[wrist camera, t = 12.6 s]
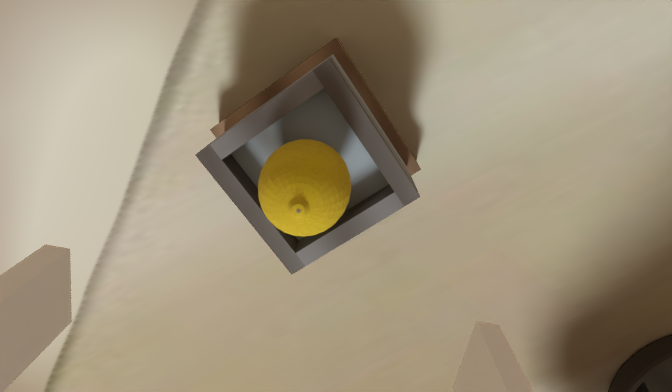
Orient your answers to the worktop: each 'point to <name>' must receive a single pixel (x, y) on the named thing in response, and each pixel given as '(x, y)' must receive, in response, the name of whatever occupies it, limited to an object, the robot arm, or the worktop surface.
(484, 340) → the robot arm
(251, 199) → the planter box
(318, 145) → the lemon
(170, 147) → the worktop surface
